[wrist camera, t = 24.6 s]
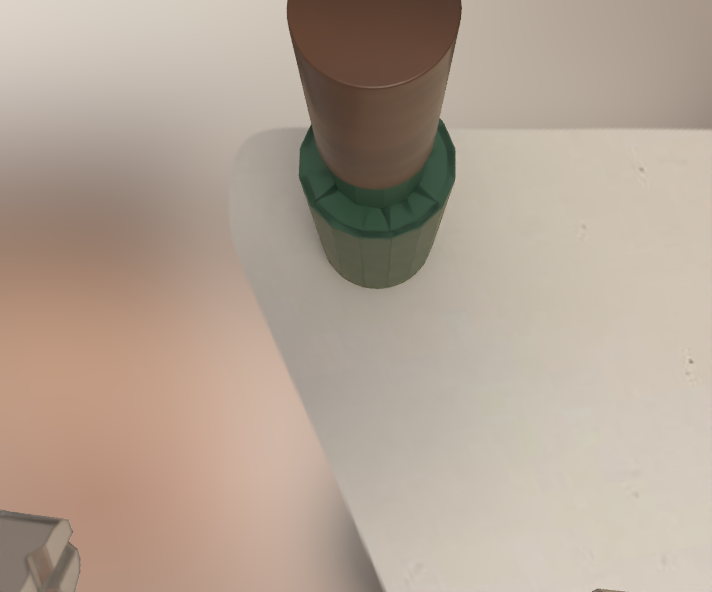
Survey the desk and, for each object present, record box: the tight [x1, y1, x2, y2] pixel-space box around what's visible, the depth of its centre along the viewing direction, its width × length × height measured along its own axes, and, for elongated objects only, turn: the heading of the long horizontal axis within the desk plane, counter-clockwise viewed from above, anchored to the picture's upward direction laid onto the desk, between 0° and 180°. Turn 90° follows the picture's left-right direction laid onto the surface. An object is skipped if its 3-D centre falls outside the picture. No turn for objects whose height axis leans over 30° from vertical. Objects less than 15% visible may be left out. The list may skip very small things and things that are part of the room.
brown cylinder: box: [287, 0, 462, 189], centre depth 21 cm, size 4×4×8 cm
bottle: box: [299, 118, 455, 289], centre depth 32 cm, size 6×6×15 cm
